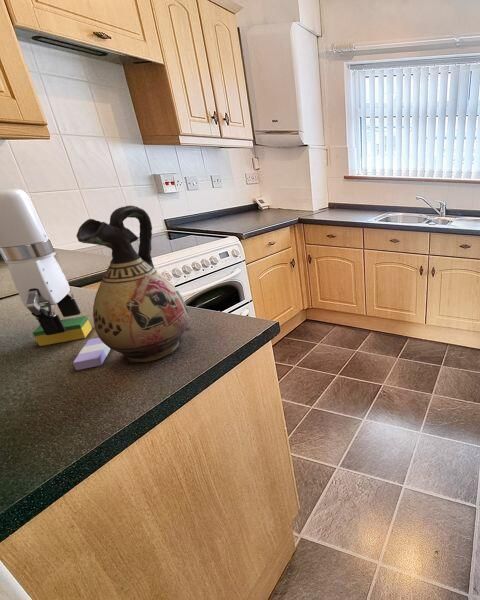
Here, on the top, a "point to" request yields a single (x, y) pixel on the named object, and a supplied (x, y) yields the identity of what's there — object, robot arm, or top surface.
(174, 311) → the ceramic jug
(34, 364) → the top surface
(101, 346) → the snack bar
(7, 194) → the robot arm
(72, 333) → the sponge
